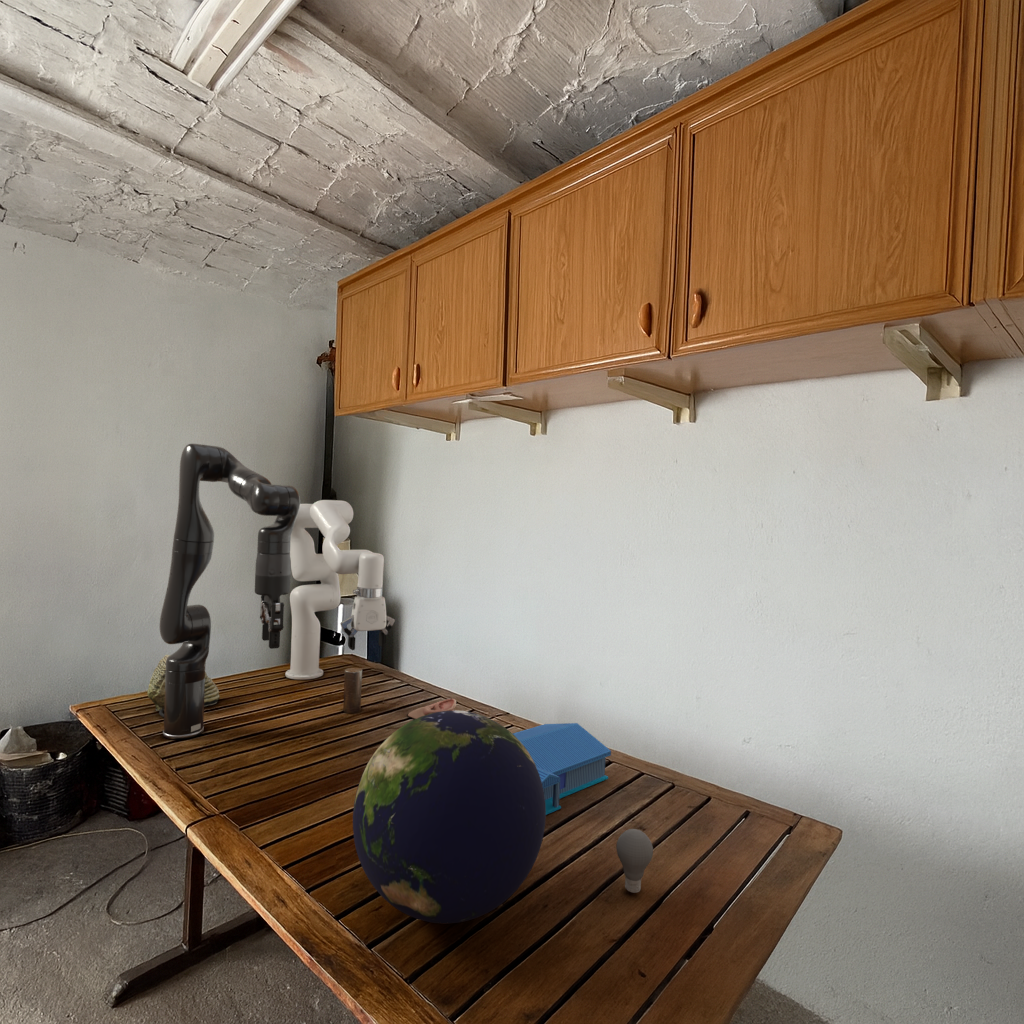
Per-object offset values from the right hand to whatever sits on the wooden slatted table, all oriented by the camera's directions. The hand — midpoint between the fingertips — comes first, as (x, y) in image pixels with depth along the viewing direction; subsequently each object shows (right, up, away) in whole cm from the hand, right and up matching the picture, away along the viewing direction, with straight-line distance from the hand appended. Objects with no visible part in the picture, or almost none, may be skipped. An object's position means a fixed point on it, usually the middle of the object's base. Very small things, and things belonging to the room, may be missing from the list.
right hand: (366, 647), depth 196 cm
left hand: (-10, +12, -53) cm, 55 cm away
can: (-2, -17, -9) cm, 19 cm away
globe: (+35, -20, -96) cm, 104 cm away
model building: (+47, -20, -54) cm, 75 cm away
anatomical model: (+22, -18, -10) cm, 30 cm away
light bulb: (+65, -21, -91) cm, 114 cm away
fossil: (-51, -15, -11) cm, 54 cm away
